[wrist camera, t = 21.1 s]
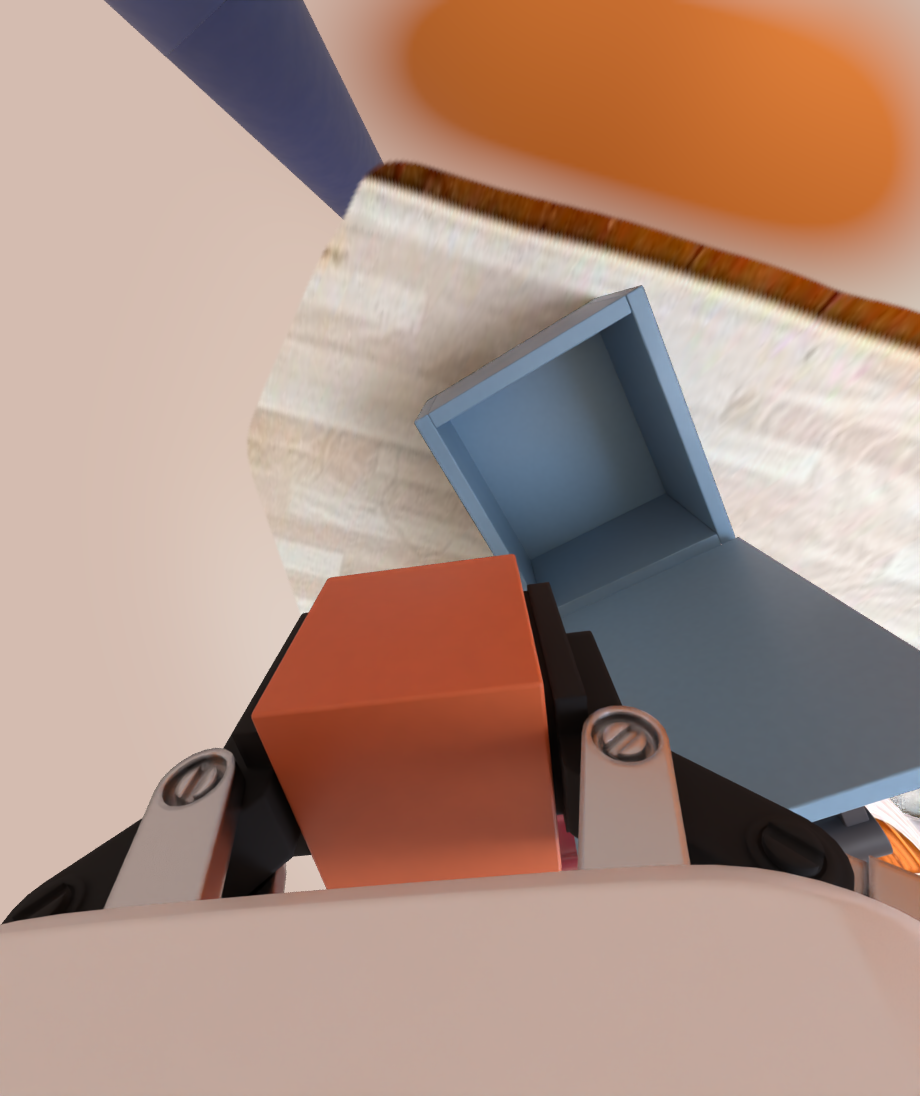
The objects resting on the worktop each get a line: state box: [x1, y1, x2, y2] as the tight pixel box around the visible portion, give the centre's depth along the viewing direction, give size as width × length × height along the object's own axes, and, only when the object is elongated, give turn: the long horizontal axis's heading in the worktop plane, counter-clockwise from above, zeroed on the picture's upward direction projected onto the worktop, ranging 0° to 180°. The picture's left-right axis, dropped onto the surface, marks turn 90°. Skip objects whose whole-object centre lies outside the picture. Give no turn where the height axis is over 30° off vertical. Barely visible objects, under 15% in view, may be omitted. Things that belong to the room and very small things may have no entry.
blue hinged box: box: [414, 285, 735, 618], centre depth 27 cm, size 14×12×8 cm
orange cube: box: [252, 554, 562, 889], centre depth 10 cm, size 4×4×4 cm
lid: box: [561, 537, 920, 861], centre depth 20 cm, size 14×12×6 cm
